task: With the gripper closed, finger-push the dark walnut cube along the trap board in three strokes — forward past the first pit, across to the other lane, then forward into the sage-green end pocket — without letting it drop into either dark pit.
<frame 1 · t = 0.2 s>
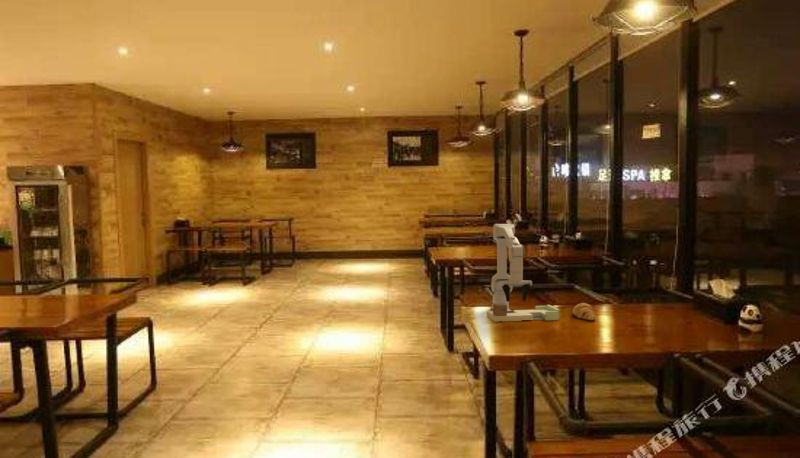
hand: (515, 301, 269), 10 cm above the table, fingers open, 7 cm apart
croissant: (583, 317, 281), on the table
walnut block: (499, 314, 274), point 2 cm above the table, touching trap board
trap board: (521, 317, 279), on the table
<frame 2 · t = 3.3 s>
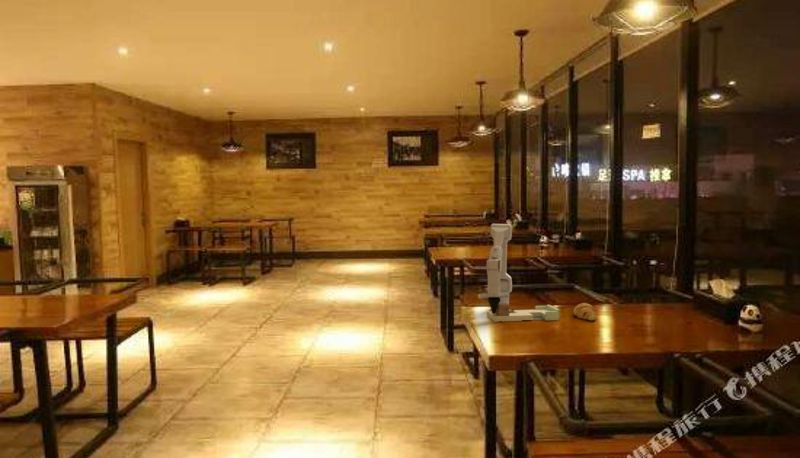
hand: (493, 313, 274), 3 cm above the table, fingers closed
walnut block: (502, 314, 274), point 3 cm above the table, touching gripper
everything else where it was.
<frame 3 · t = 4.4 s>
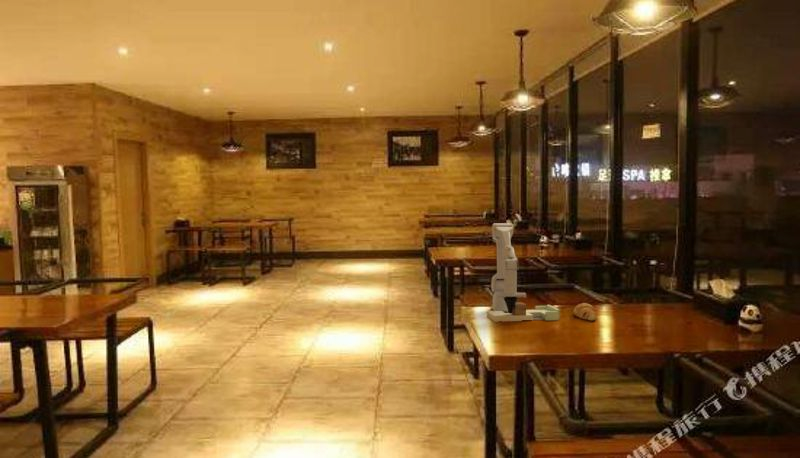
hand: (510, 312, 275), 3 cm above the table, fingers closed
walnut block: (519, 314, 276), point 3 cm above the table, touching gripper
everything else where it was.
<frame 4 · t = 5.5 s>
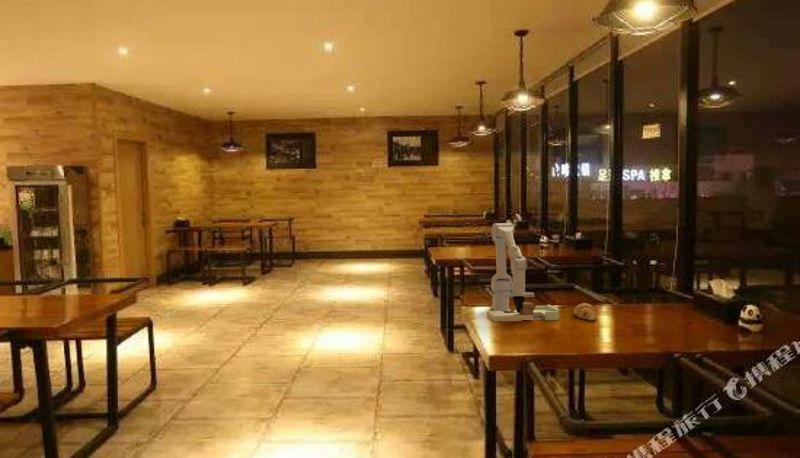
hand: (518, 312, 275), 3 cm above the table, fingers closed
walnut block: (526, 313, 276), point 3 cm above the table, touching gripper, trap board
everything else where it was.
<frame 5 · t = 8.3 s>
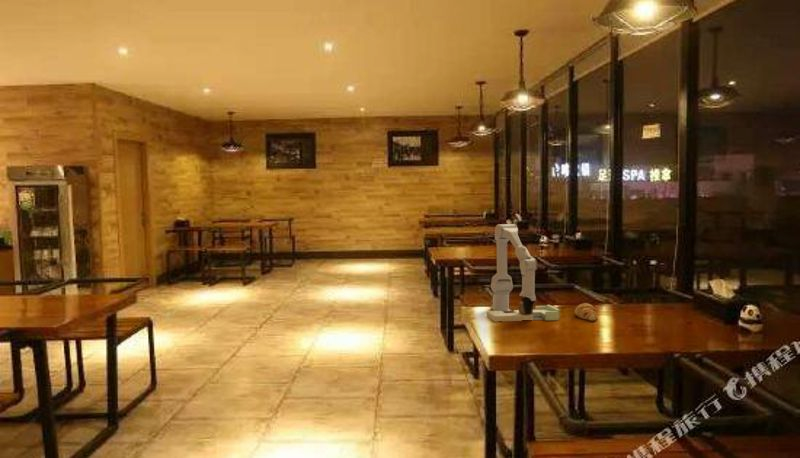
hand: (528, 313, 273), 3 cm above the table, fingers closed
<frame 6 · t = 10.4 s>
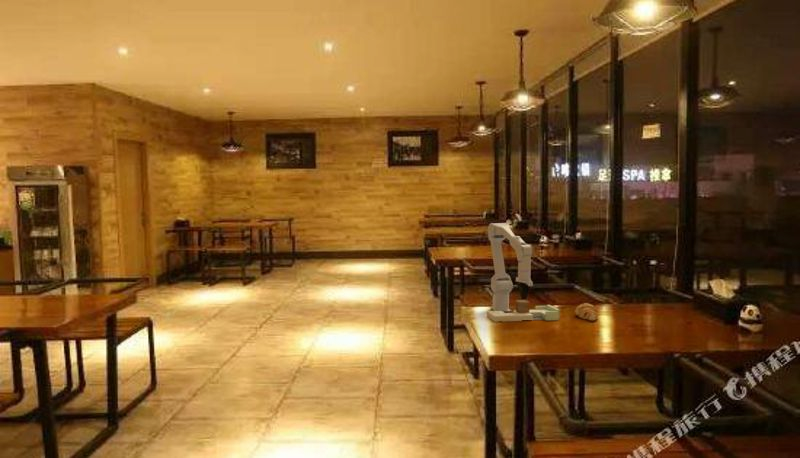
hand: (523, 299, 277), 9 cm above the table, fingers closed
walnut block: (522, 311, 281), point 2 cm above the table, touching trap board
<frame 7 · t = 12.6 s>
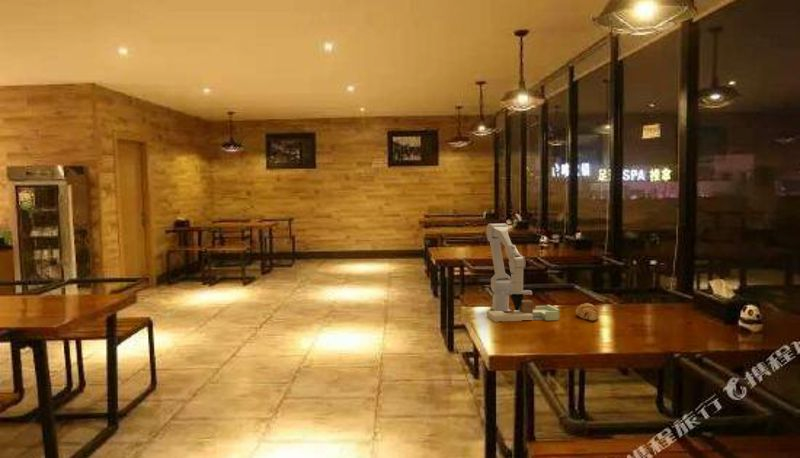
hand: (516, 309, 282), 3 cm above the table, fingers closed
walnut block: (525, 311, 282), point 2 cm above the table, touching gripper, trap board
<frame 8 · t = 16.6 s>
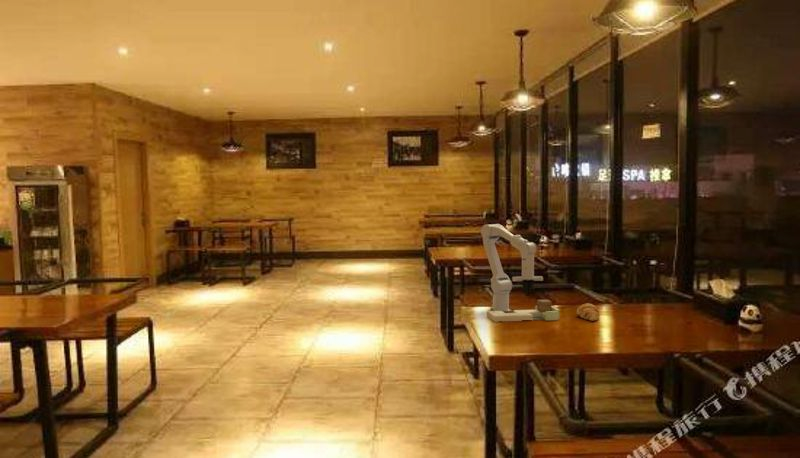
hand: (527, 295, 282), 10 cm above the table, fingers closed
walnut block: (544, 310, 283), point 2 cm above the table, touching trap board
at the end: walnut block inside the target area on the trap board (2.2 cm from its centre), point 2.5 cm above the trap board's base; walnut block tilted 0° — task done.
